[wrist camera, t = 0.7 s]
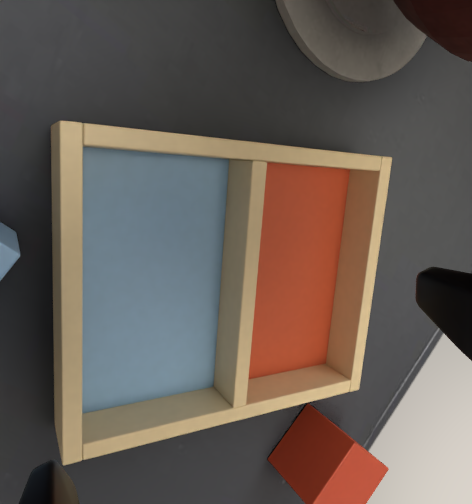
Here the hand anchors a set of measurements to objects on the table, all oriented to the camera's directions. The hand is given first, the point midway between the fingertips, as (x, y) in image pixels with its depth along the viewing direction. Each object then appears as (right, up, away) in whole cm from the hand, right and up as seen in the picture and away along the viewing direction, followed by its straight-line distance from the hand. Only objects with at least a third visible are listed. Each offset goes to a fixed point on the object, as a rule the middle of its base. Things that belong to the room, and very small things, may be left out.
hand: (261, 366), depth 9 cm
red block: (+4, -11, +20) cm, 23 cm away
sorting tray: (-1, +1, +14) cm, 14 cm away
